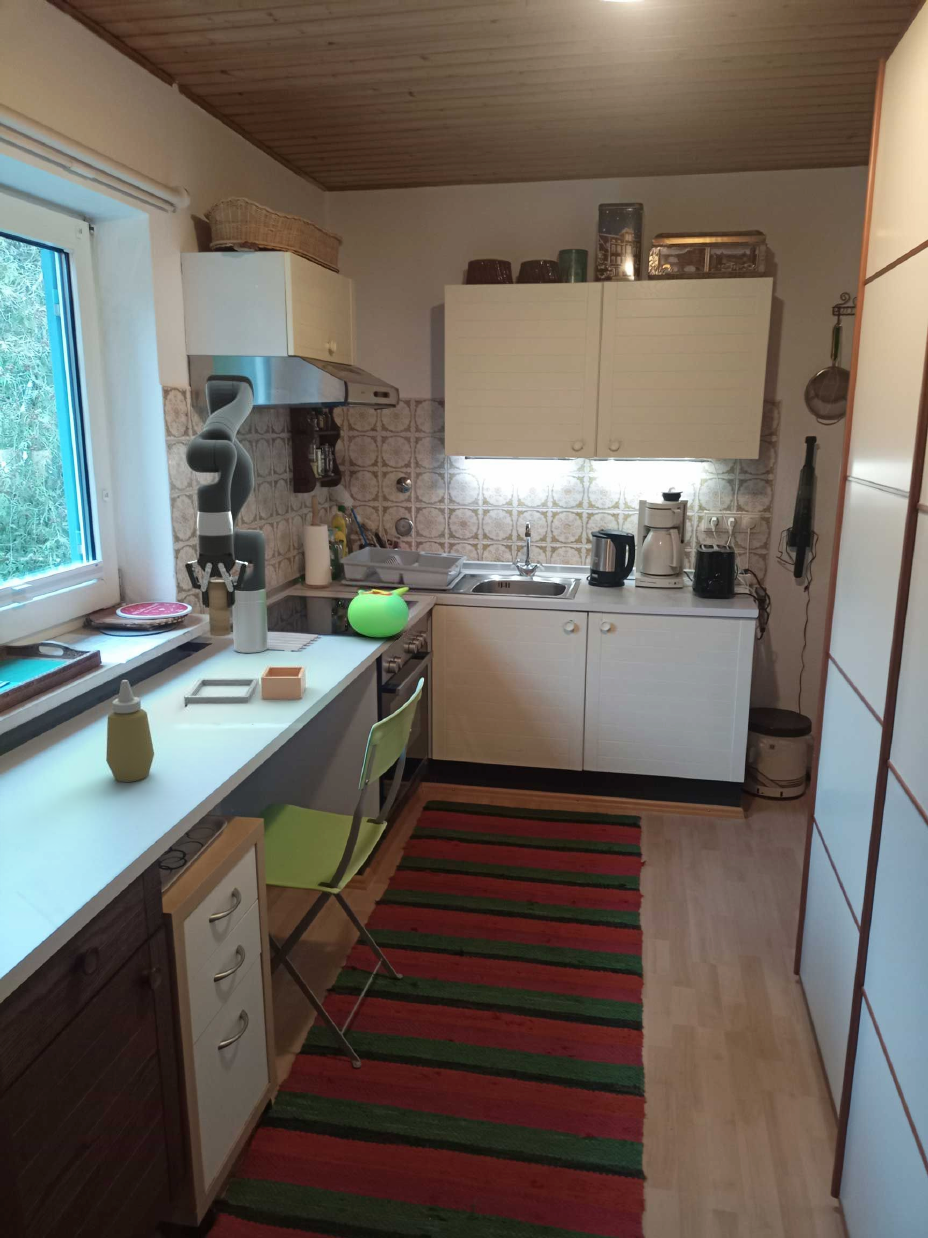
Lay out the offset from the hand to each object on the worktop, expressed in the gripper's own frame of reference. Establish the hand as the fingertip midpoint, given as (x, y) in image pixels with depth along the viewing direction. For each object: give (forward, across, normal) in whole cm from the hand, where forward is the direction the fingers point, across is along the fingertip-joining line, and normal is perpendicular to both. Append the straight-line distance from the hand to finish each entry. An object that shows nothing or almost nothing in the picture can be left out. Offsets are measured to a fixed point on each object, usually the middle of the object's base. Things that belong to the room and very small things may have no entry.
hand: (219, 606), depth 195 cm
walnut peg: (+6, 0, 0) cm, 6 cm away
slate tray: (+21, 0, 0) cm, 21 cm away
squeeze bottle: (+22, +7, +45) cm, 50 cm away
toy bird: (+22, -34, -57) cm, 70 cm away
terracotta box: (+21, -14, 0) cm, 26 cm away
